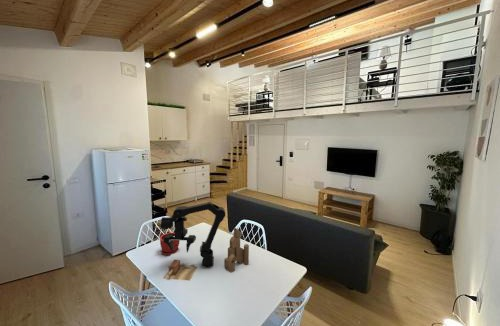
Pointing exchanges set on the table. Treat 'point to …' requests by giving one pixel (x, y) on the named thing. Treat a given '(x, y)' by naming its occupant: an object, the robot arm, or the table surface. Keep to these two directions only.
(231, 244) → the wooden toy
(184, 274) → the board
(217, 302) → the table surface
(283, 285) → the table surface
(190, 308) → the table surface
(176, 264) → the brown block with peg
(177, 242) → the plant pot
